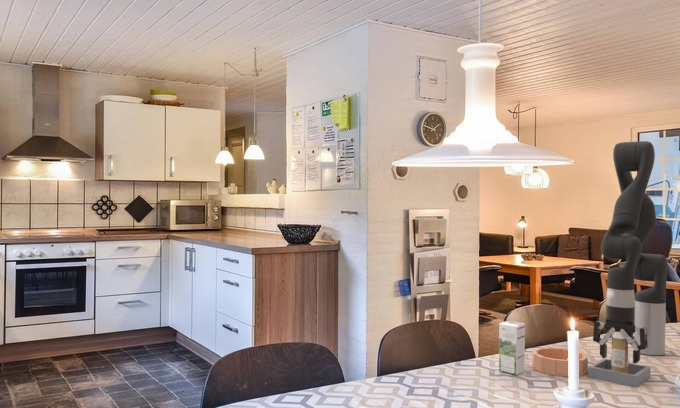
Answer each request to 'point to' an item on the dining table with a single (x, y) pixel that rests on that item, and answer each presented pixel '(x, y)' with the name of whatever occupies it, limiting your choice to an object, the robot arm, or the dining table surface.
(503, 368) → the syrup box
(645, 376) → the gray square frame
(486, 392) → the dining table surface
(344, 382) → the dining table surface
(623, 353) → the sprinkles bottle
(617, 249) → the robot arm
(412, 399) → the dining table surface
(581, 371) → the bowl
